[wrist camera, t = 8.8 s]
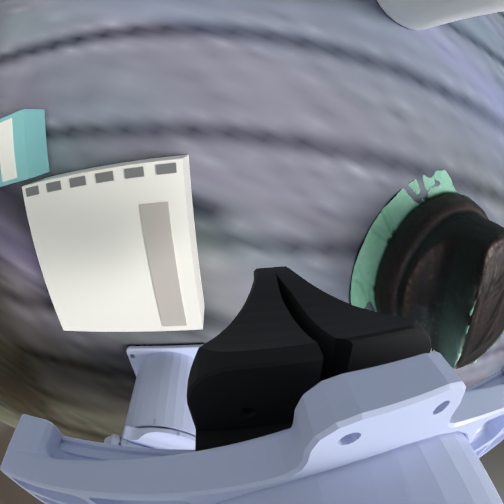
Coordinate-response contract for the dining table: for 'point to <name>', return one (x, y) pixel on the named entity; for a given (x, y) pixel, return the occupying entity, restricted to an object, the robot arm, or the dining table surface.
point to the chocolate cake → (436, 269)
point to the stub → (23, 146)
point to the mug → (436, 11)
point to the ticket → (119, 246)
